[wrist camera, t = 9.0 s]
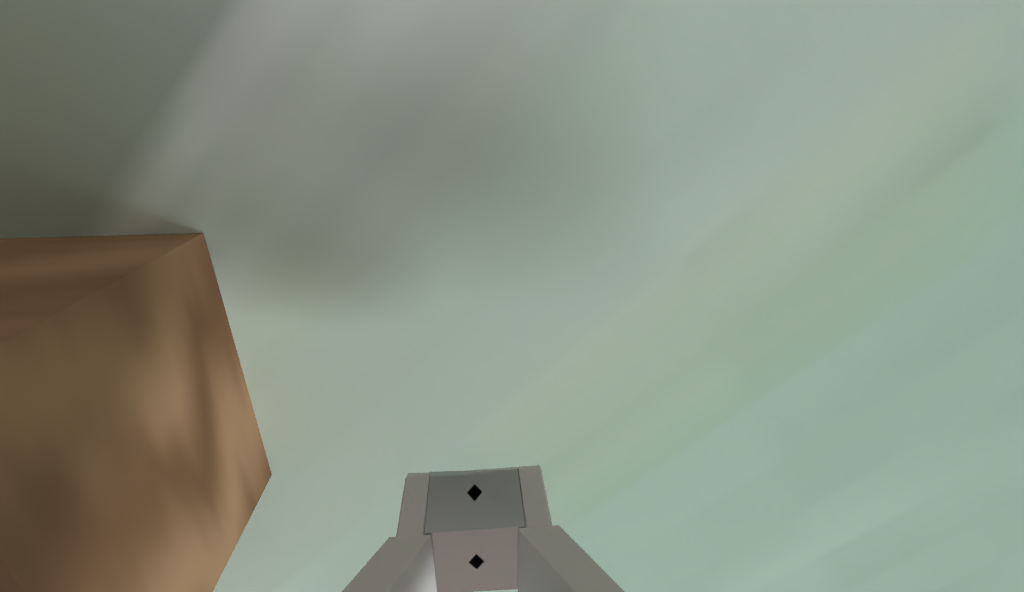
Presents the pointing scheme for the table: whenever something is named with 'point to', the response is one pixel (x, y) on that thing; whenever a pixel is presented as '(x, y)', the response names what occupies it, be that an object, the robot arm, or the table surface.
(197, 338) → the walnut block
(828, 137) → the table surface
